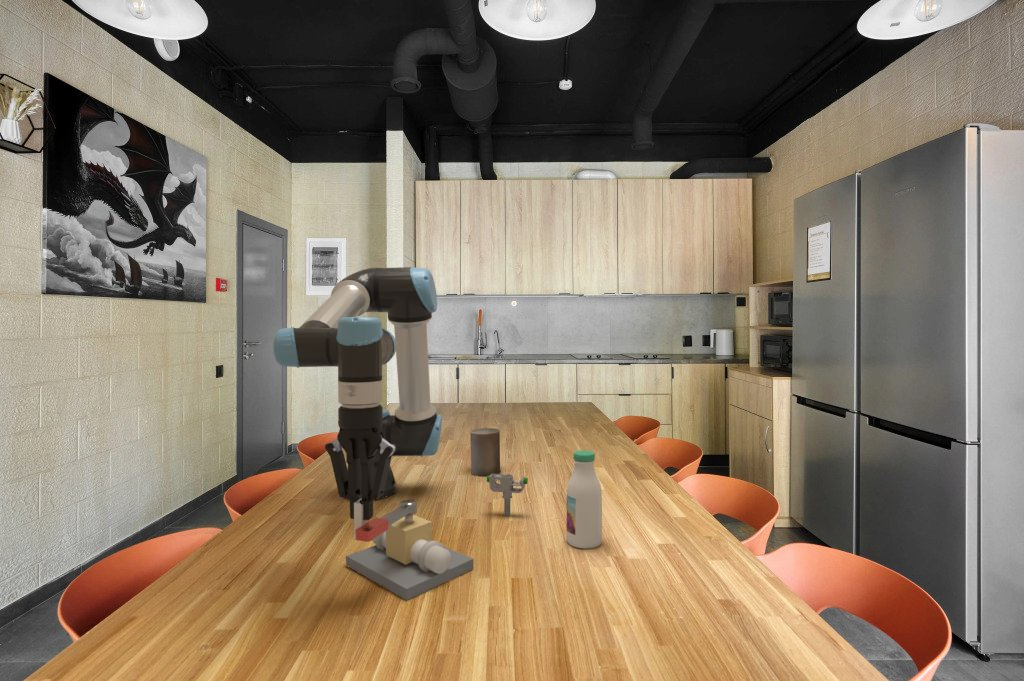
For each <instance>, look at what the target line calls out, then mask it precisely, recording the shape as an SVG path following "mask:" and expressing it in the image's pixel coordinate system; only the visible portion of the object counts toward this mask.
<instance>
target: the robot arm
mask: <svg viewBox="0 0 1024 681" xmlns="http://www.w3.org/2000/svg"><path fill="white" fill-rule="evenodd" d="M437 299H438V295H437V288H436V283H435V279H434V277H433V273H432V272H431V271H430V270H429V269H428V268H425V267H415V266H414V267H413V266H412V267H411V266H409V267H408V266H406V267H405V266H403V267H370V268H369V267H368V268H365V269H362V270H358V271H356V272H354V273H351V274H350V275H347V276H346V277H343V279H341V280H340V281H338V282H337V283H336V284H335V286H333V288H332V290H331V292H330V296H329V297H328V298H327V299H326V300H325V301H324V302H323V303H322V304H321V306H319V307H318V309H316V311H314V312H313V313H312V314H311V315H310V316H309V317H308V318H307V319H306V320H305V321H304V322H303V323H302V325H300V326H299V327H294V326H292V327H288V328H285V327H284V328H281V329H278V331H277V332H276V333H275V336H274V338H273V344H272V347H273V354H274V360H275V361H276V362H277V363H278V365H280V366H282V367H293V368H294V367H295V368H313V367H315V368H320V367H322V368H323V367H324V368H326V367H336V368H337V393H338V396H337V397H338V400H337V401H338V403H339V405H340V406H339V407H338V410H337V411H338V412H337V413H338V414H337V415H338V416H337V418H338V420H337V421H338V422H337V424H338V427H339V430H338V433H337V436H336V439H334V440H333V441H331V442H329V443H326V444H325V445H324V448H325V449H324V450H326V452H327V453H328V454H327V455H329V457H330V460H331V466H332V470H333V474H334V479H335V483H336V487H337V491H338V496H339V497H340V498H342V499H343V498H344V497H345V498H344V499H346V498H347V499H346V500H348V501H349V517H350V520H353V535H354V536H353V539H354V541H357V540H356V529H358V528H359V527H362V526H363V525H364V524H366V523H368V522H370V521H371V520H372V518H373V516H374V501H376V500H380V499H379V498H381V499H384V498H383V497H385V498H387V497H386V496H388V497H390V496H392V495H394V494H395V493H396V492H397V481H396V478H395V476H394V473H393V469H392V467H391V461H392V458H393V457H427V456H428V457H430V456H434V455H436V454H437V452H438V450H439V448H440V447H439V446H440V441H441V433H442V426H443V415H441V414H440V413H438V414H437V409H436V408H437V407H435V406H434V404H432V403H431V388H430V368H429V367H430V366H429V348H428V332H427V331H428V329H427V328H428V326H427V324H428V323H429V322H430V320H431V319H433V318H432V317H433V314H434V313H436V312H437V309H438V300H437ZM365 313H386V314H387V321H388V322H389V323H390V324H392V325H393V326H394V328H393V329H394V330H393V331H394V335H393V334H392V332H390V331H389V330H387V329H386V328H383V327H382V326H383V324H382V321H381V319H380V318H379V317H374V316H373V317H371V316H370V317H369V316H368V317H367V316H364V317H363V316H362V315H364V314H365ZM395 355H396V356H395ZM394 356H395V358H396V373H397V374H396V375H397V386H398V387H397V389H398V399H399V400H398V401H399V402H398V403H399V406H398V407H397V408H396V409H395V411H394V415H392V414H391V413H390V411H389V409H384V407H383V406H382V404H381V403H382V402H383V401H384V400H383V399H384V398H383V365H386V364H387V363H389V362H390V361H391V360H392V359H393V358H394ZM344 452H345V453H344ZM345 455H346V456H345ZM395 491H396V492H395ZM394 492H395V493H394ZM393 493H394V494H393ZM391 494H392V495H391ZM389 495H390V496H389Z"/></svg>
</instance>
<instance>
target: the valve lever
mask: <svg viewBox="0 0 1024 681" xmlns="http://www.w3.org/2000/svg"><path fill="white" fill-rule="evenodd" d="M399 505H400V506H398V507H397V508H395V509H392V510H391V511H390V512H388V513H386V514H385V515H384V514H383V516H381V517H375V518H374V519H370V520H369V522H368V523H366V524H364V525H363V526H362V527H359V528H358V529H356V540H355V541H361V542H366V543H369V542H371V541H372V540H373V539H374V538H376V537H377V536H379V535H380V534H382V533H383V532H385V531H387V530H388V529H389V526H390V525H392V524H393V523H395V522H396V521H398V520H400V519H401V518H403V517H405V516H406V515H415V514H417V513H418V502H417V500H415V499H404V500H401V501H400V504H399Z"/></svg>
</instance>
